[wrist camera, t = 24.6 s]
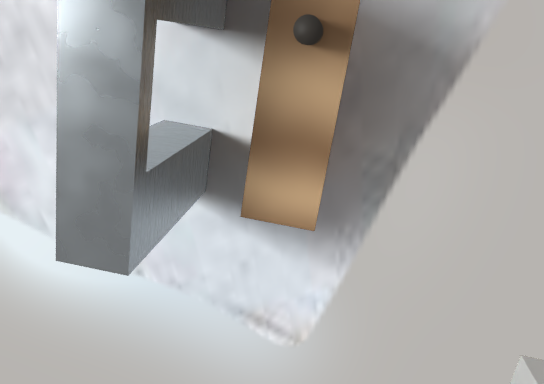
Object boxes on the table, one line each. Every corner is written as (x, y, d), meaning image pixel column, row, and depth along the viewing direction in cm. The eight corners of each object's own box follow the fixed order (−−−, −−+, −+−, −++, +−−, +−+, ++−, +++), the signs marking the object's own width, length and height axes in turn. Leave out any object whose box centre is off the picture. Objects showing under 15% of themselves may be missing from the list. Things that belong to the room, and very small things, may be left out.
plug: (291, 1, 33) (268, -22, 22) (354, 11, 33) (362, -8, 22) (264, 173, 37) (233, 228, 26) (320, 184, 37) (312, 244, 26)
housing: (153, 181, 39) (46, 258, 25) (171, -58, 33) (46, -136, 19) (205, 191, 38) (128, 275, 24) (232, -49, 33) (152, -121, 19)
